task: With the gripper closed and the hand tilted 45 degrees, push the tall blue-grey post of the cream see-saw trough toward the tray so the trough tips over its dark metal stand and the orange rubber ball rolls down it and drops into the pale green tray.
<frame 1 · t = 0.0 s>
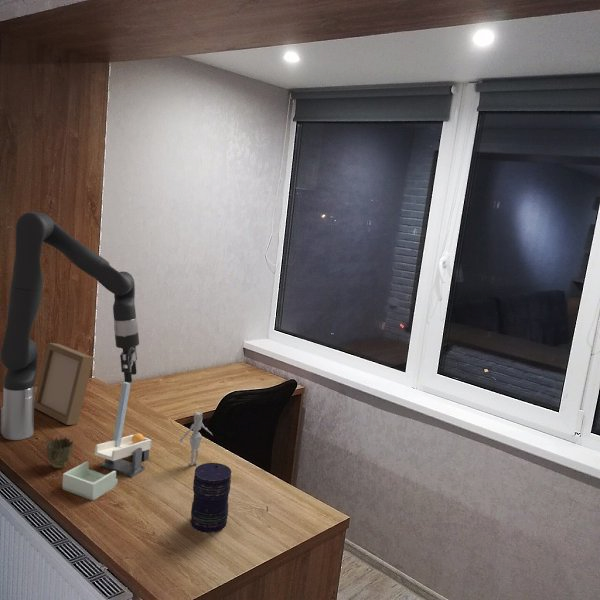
hand: (130, 378, 191), 22 cm above the table, tool pointing down, fingers open, 8 cm apart
human figurine: (194, 465, 183), on the table
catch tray: (90, 487, 163), on the table
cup: (58, 467, 173), on the table
dark blue ridged cylinder: (208, 523, 152), on the table
photo frame: (67, 413, 212), on the table
lever: (129, 418, 175), point 16 cm above the table, hinge at -10.0°, touching ball
ball: (137, 439, 181), point 7 cm above the table, tilted 17°, touching lever
stand: (122, 468, 176), on the table
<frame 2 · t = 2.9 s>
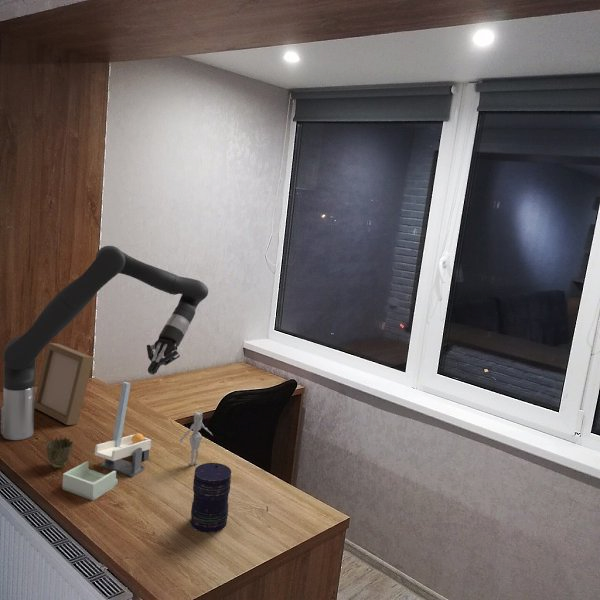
hand: (150, 373, 186), 26 cm above the table, tool tilted 45°, fingers closed
nothing on the table moved.
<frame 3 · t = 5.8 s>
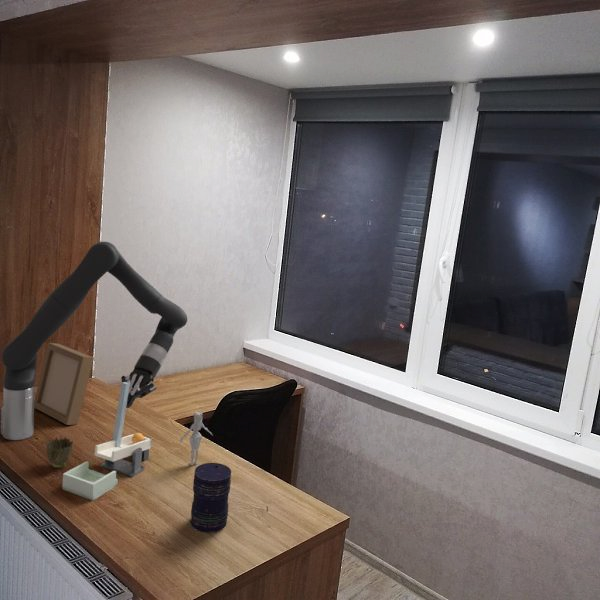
hand: (125, 406, 177), 18 cm above the table, tool tilted 45°, fingers closed
lever: (128, 418, 175), point 16 cm above the table, hinge at -8.9°, touching ball, gripper
everything else where it was.
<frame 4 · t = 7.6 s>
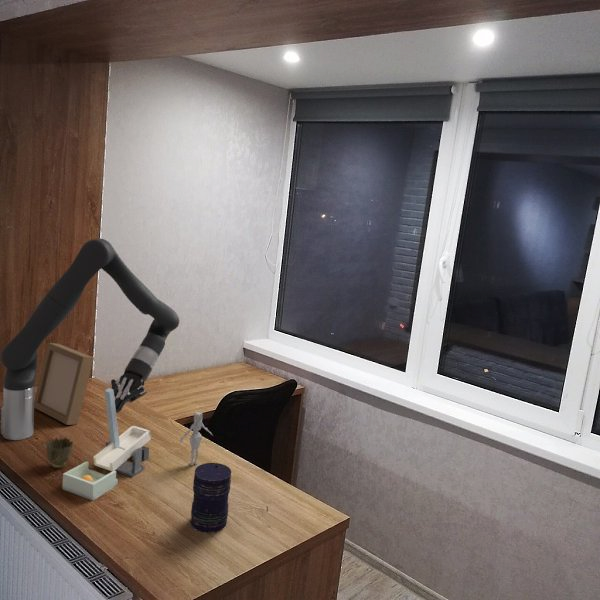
hand: (114, 411, 173), 18 cm above the table, tool tilted 45°, fingers closed
lever: (120, 422, 171), point 16 cm above the table, hinge at 12.1°, touching gripper
ball: (86, 481, 161), point 3 cm above the table, tilted 32°, touching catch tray
everything else where it was.
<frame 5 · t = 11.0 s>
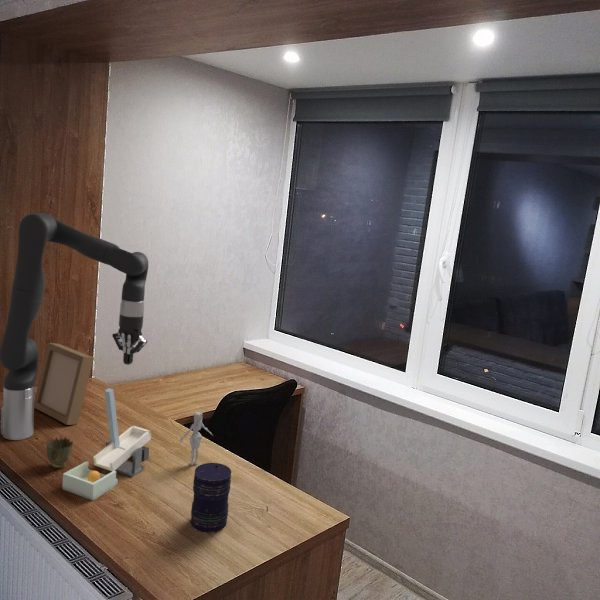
hand: (127, 363, 188), 28 cm above the table, tool pointing down, fingers closed
lever: (120, 422, 171), point 16 cm above the table, hinge at 12.2°
ball: (93, 477, 164), point 3 cm above the table, tilted 63°, touching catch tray
everything else where it was.
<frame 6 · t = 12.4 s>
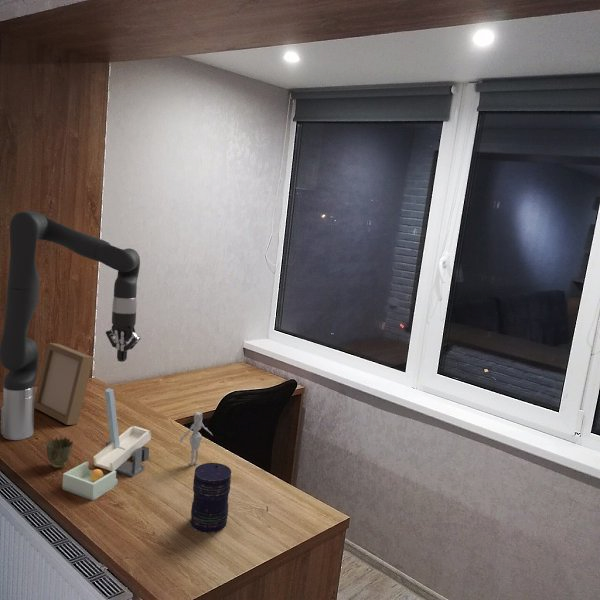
hand: (121, 360, 187), 29 cm above the table, tool pointing down, fingers closed
ball: (96, 475, 165), point 3 cm above the table, tilted 102°, touching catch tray
everything else where it was.
at the end: ball inside the target area on the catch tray (2.5 cm from its centre), point 2.6 cm above the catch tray's base; lever at +12° (first picture: -10°) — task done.
